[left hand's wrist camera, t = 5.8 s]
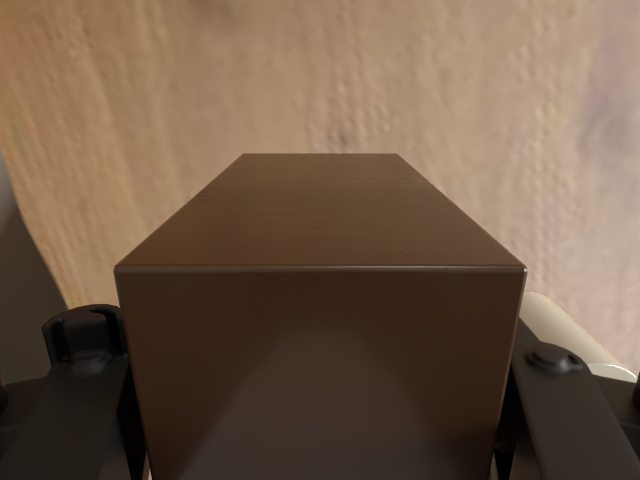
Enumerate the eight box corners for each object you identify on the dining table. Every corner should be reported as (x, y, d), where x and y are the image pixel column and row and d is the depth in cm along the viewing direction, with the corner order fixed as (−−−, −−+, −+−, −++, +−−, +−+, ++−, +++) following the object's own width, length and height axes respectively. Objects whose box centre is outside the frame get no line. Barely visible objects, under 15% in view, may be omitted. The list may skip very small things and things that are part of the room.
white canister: (476, 291, 28) (534, 363, 21) (571, 290, 28) (662, 363, 21) (465, 369, 31) (514, 461, 23) (553, 369, 31) (630, 461, 23)
